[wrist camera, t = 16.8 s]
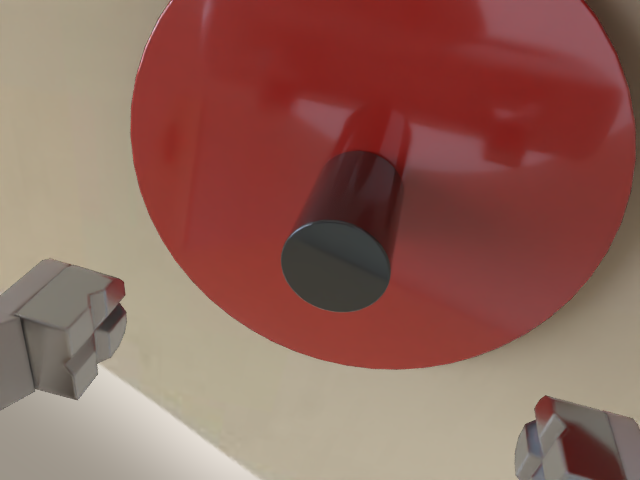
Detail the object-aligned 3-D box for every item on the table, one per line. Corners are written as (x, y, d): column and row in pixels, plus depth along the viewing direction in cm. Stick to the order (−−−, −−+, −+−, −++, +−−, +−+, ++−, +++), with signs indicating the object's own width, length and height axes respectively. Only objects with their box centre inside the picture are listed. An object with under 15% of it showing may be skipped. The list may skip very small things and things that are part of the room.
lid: (152, 291, 21) (75, 390, 17) (141, -152, 13) (-10, -177, 9) (512, 388, 20) (528, 522, 16) (743, -35, 12) (907, 1, 8)
